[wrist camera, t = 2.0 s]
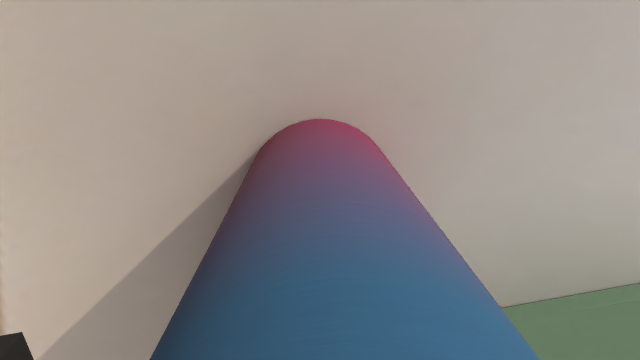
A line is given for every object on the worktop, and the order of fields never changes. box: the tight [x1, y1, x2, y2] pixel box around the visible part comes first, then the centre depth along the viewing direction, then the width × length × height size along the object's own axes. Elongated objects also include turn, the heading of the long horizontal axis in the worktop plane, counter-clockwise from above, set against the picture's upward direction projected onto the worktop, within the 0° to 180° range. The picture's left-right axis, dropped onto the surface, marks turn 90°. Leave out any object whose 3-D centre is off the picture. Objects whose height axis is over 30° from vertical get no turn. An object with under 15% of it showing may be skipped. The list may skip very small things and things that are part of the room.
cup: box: [150, 119, 540, 360], centre depth 12 cm, size 7×7×15 cm
